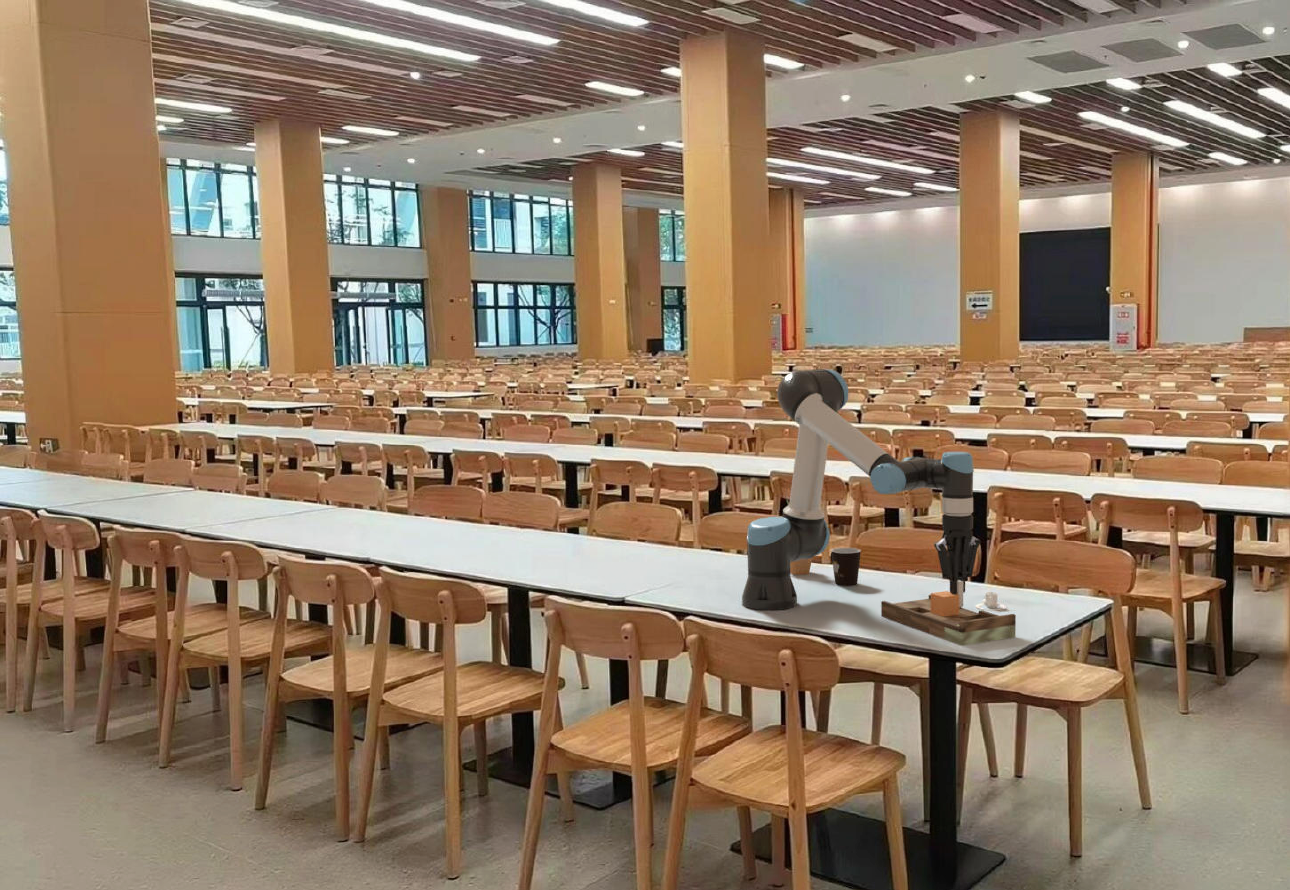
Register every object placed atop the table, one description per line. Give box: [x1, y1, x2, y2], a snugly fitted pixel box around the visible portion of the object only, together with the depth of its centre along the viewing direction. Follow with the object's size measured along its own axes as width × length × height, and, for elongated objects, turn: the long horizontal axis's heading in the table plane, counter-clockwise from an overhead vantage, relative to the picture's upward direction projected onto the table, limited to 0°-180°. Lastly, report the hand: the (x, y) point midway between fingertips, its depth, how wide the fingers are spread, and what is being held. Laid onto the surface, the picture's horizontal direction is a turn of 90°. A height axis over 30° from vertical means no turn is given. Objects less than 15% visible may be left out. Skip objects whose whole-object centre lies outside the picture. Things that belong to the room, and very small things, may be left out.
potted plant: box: [786, 498, 814, 576], centre depth 375 cm, size 10×10×25 cm
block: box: [930, 590, 959, 617], centre depth 307 cm, size 5×5×5 cm
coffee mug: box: [829, 547, 862, 587], centre depth 360 cm, size 12×9×10 cm
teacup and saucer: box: [975, 591, 1007, 611], centre depth 326 cm, size 9×8×4 cm
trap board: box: [880, 594, 1017, 646], centre depth 306 cm, size 16×33×6 cm, turn 24°
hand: (957, 605), depth 307 cm, fingers closed
